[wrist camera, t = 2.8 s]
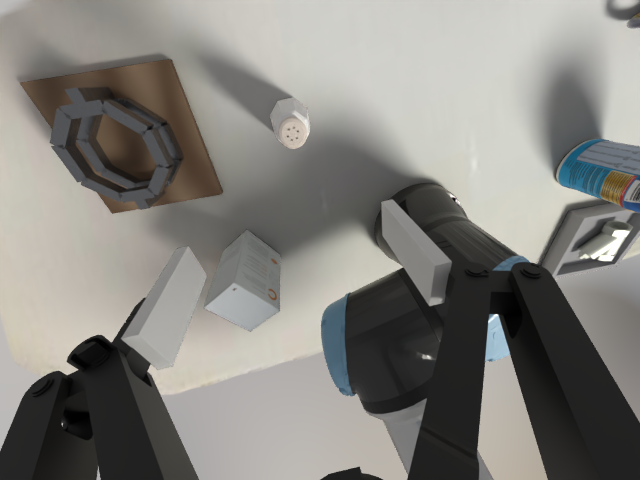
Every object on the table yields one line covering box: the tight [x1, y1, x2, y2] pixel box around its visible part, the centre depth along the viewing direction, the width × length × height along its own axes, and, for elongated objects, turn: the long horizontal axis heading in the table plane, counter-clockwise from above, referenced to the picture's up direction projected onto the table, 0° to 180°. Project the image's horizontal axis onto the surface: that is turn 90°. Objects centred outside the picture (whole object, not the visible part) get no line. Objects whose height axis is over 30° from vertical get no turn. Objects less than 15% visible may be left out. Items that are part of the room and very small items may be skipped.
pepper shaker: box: [270, 97, 310, 149], centre depth 27 cm, size 5×5×11 cm
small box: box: [204, 230, 280, 331], centre depth 37 cm, size 8×6×13 cm
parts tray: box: [541, 203, 640, 279], centre depth 50 cm, size 16×16×3 cm
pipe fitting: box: [577, 221, 633, 261], centre depth 49 cm, size 8×4×7 cm
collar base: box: [20, 59, 223, 214], centre depth 30 cm, size 16×16×1 cm
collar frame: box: [50, 87, 184, 209], centre depth 28 cm, size 10×13×5 cm
